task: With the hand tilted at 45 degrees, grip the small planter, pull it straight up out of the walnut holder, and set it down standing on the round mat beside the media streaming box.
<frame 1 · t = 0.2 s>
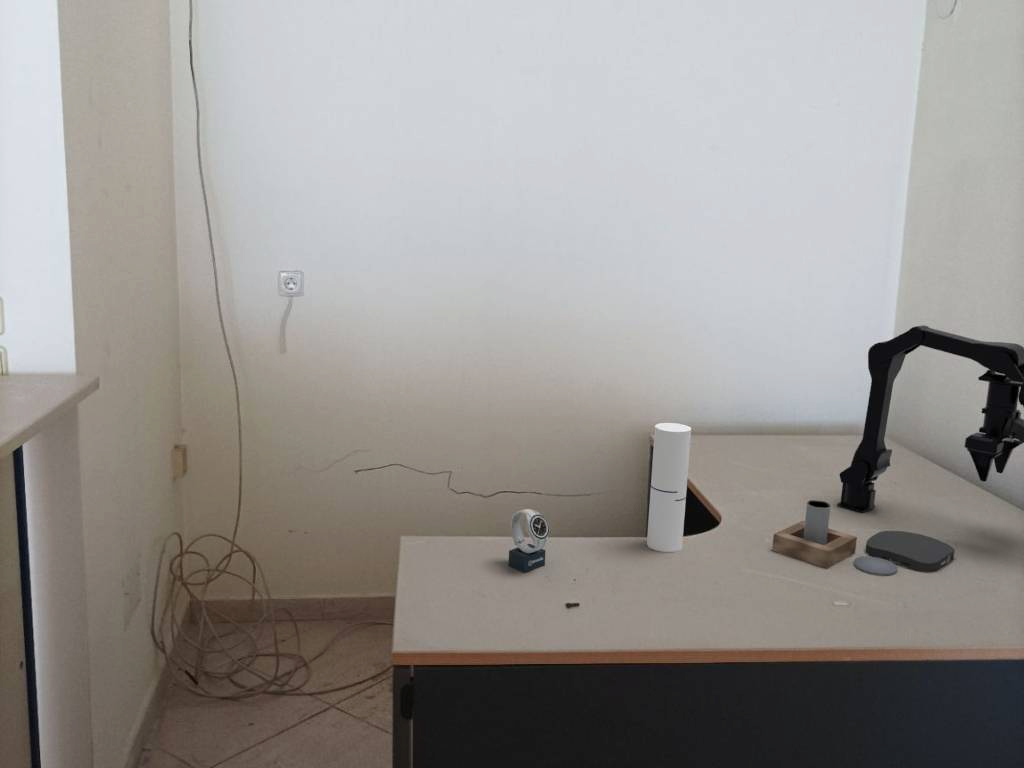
hand: (991, 476, 194), 15 cm above the table, tool pointing down, fingers open, 9 cm apart
watch: (527, 566, 177), on the table
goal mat: (875, 567, 182), on the table
media streaming box: (908, 557, 189), on the table
planter: (813, 552, 189), resting in planter holder
planter holder: (813, 551, 189), on the table
cylindrical container: (664, 546, 189), on the table
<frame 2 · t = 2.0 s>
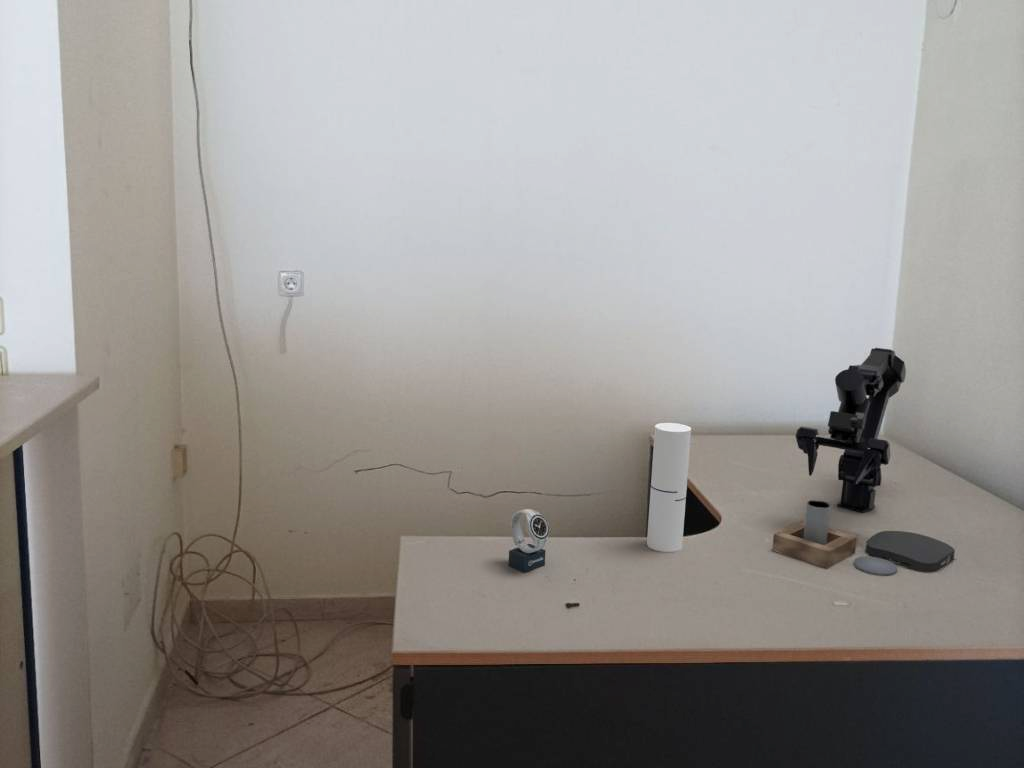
hand: (832, 479, 192), 14 cm above the table, tool tilted 45°, fingers open, 9 cm apart
nothing on the table moved.
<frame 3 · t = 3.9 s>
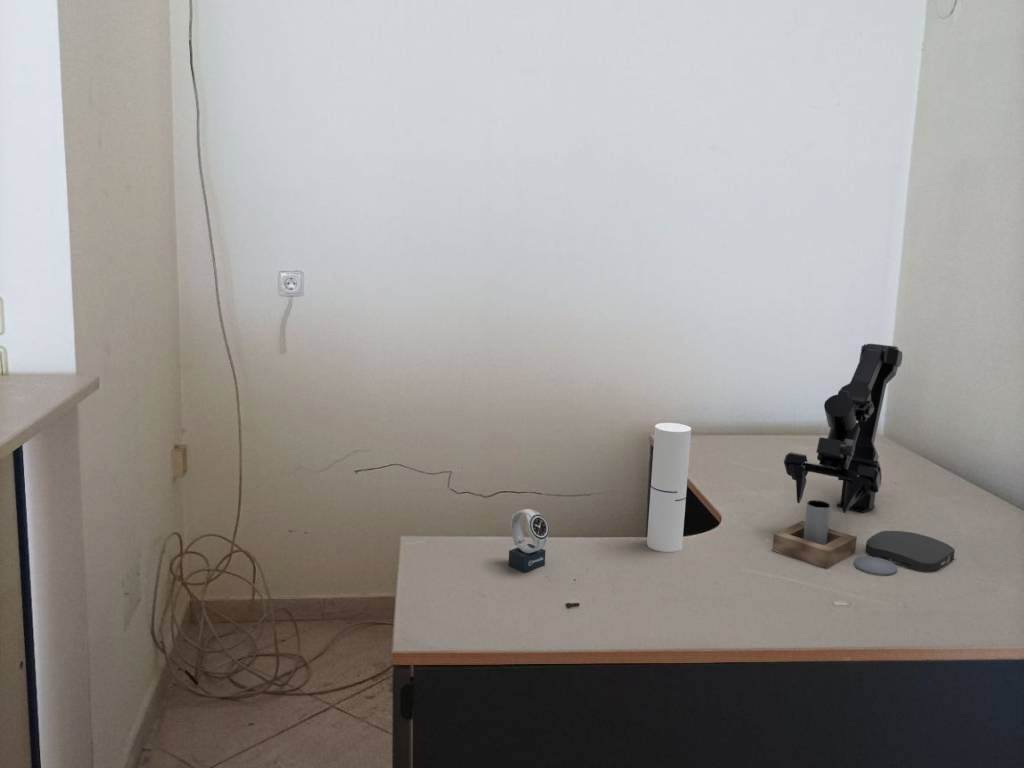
hand: (820, 506, 188), 9 cm above the table, tool tilted 45°, fingers open, 9 cm apart
nothing on the table moved.
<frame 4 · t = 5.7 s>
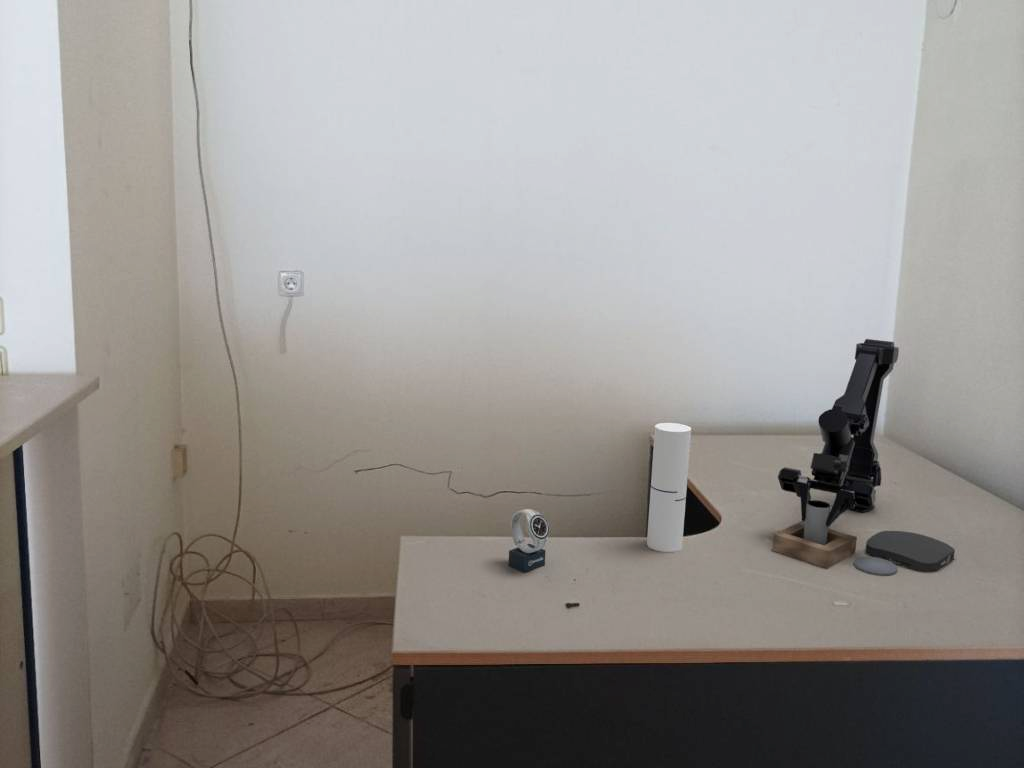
hand: (815, 523, 186), 7 cm above the table, tool tilted 45°, fingers closed on planter, 4 cm apart
planter: (813, 552, 189), resting in planter holder, touching gripper
everything else where it was.
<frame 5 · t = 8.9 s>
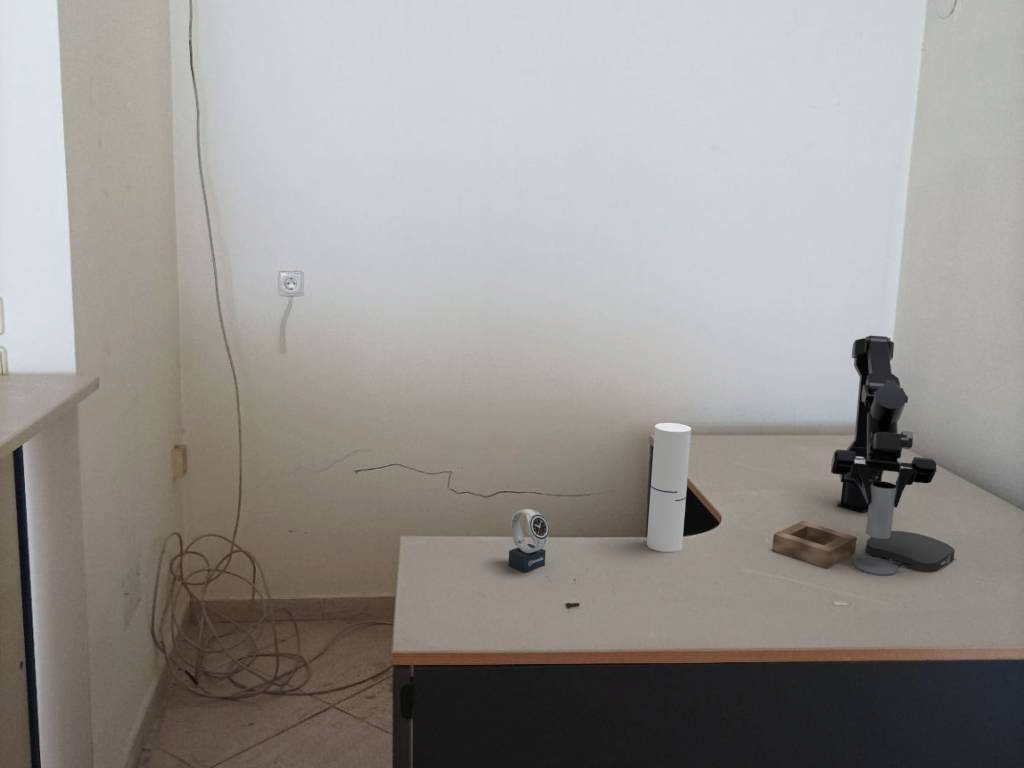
hand: (882, 505, 178), 13 cm above the table, tool tilted 45°, fingers closed on planter, 4 cm apart
planter: (877, 535, 181), point 6 cm above the table, touching gripper
everything else where it was.
when the fingers open (8 cm above the table, at t = 12.4 s): planter stays where it is, resting on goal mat.
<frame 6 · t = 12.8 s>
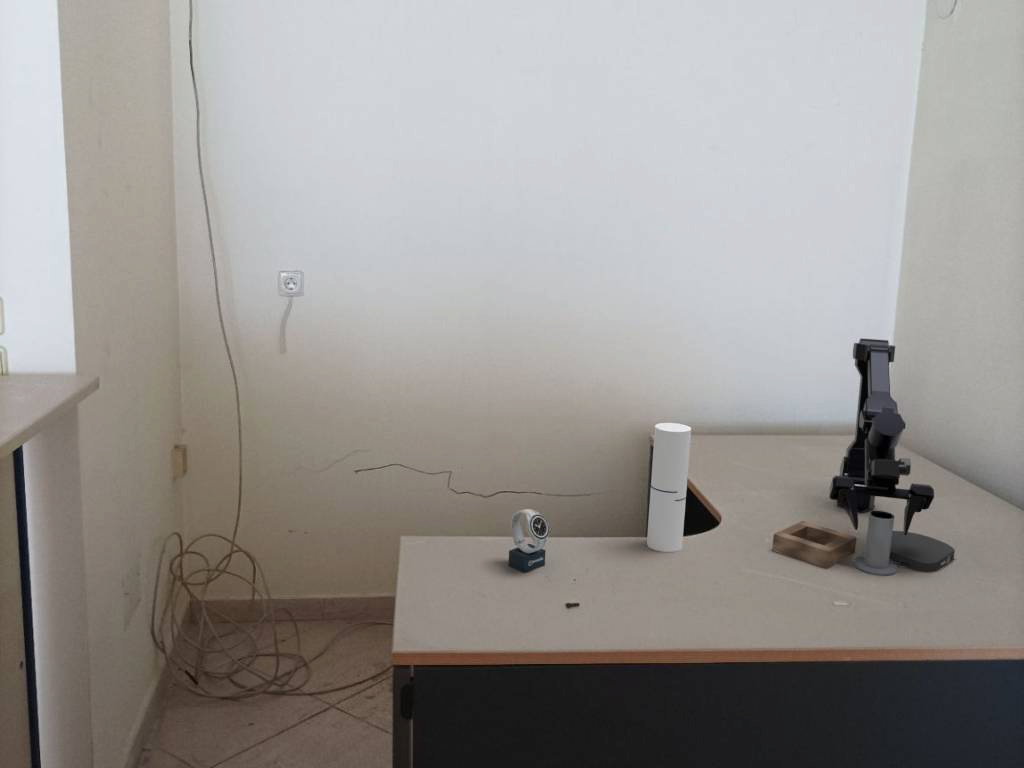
hand: (880, 531, 179), 8 cm above the table, tool tilted 45°, fingers open, 9 cm apart
planter: (875, 565, 182), resting on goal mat
everything else where it was.
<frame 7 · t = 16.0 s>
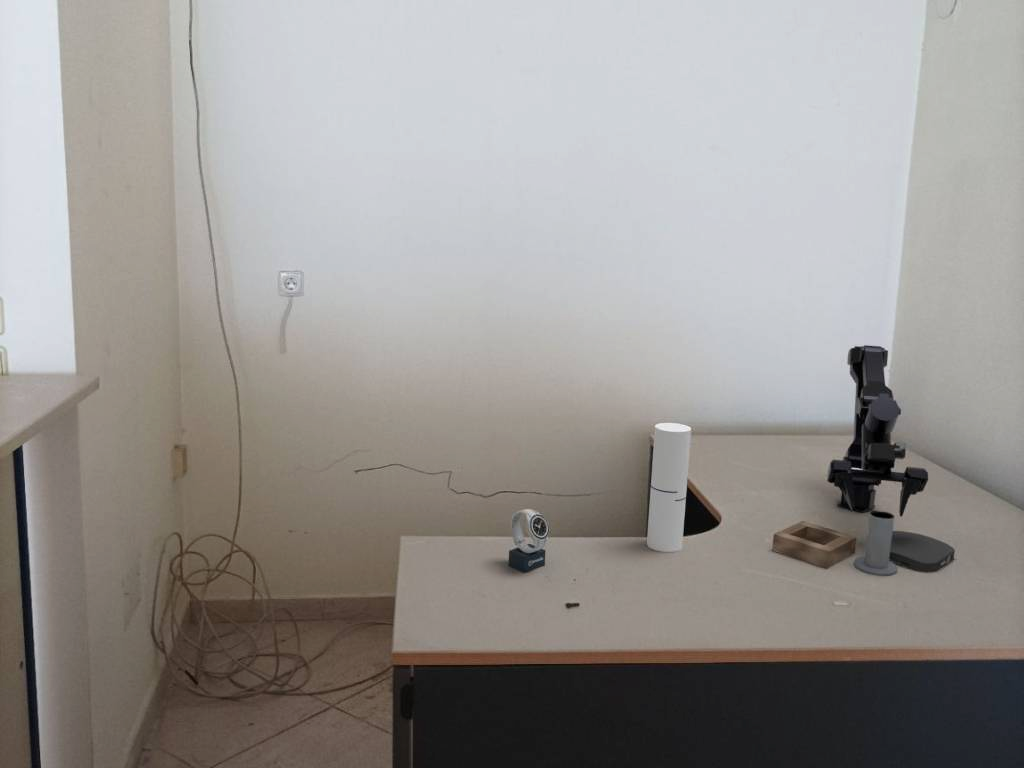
hand: (877, 512, 186), 9 cm above the table, tool tilted 45°, fingers open, 9 cm apart
nothing on the table moved.
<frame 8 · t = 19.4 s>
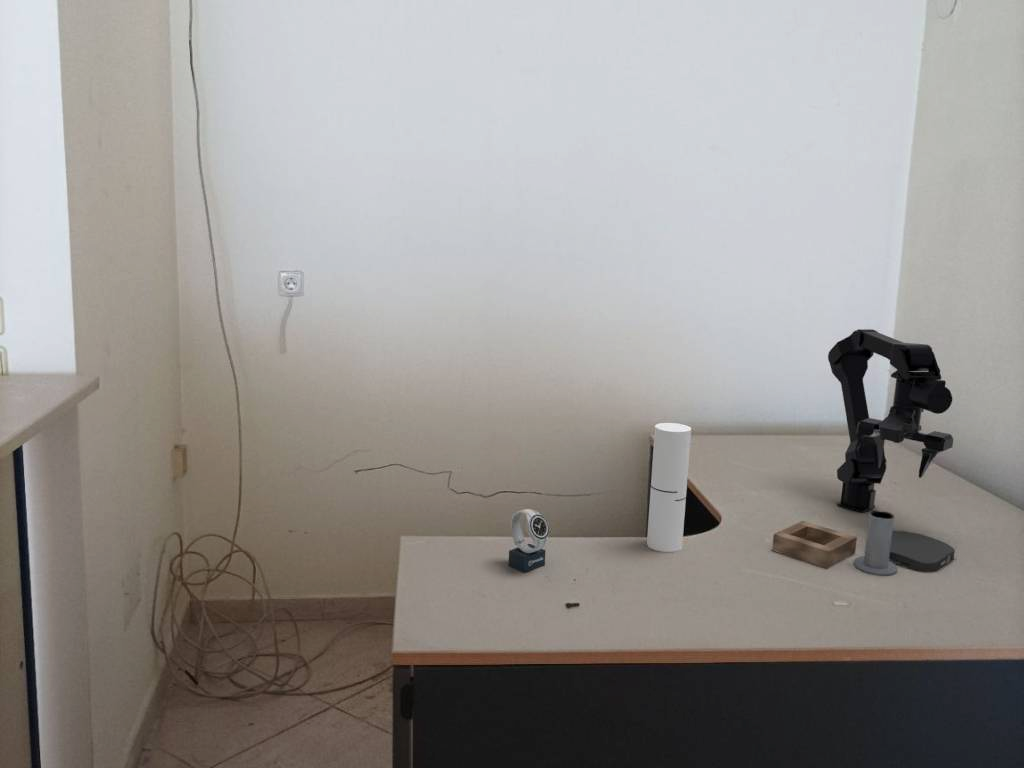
hand: (899, 472, 200), 13 cm above the table, tool pointing down, fingers open, 9 cm apart
nothing on the table moved.
at the end: planter 0.2 cm off-centre on the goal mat, point 0.4 cm above the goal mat's base; planter tilted 0°; the gripper is holding nothing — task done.
